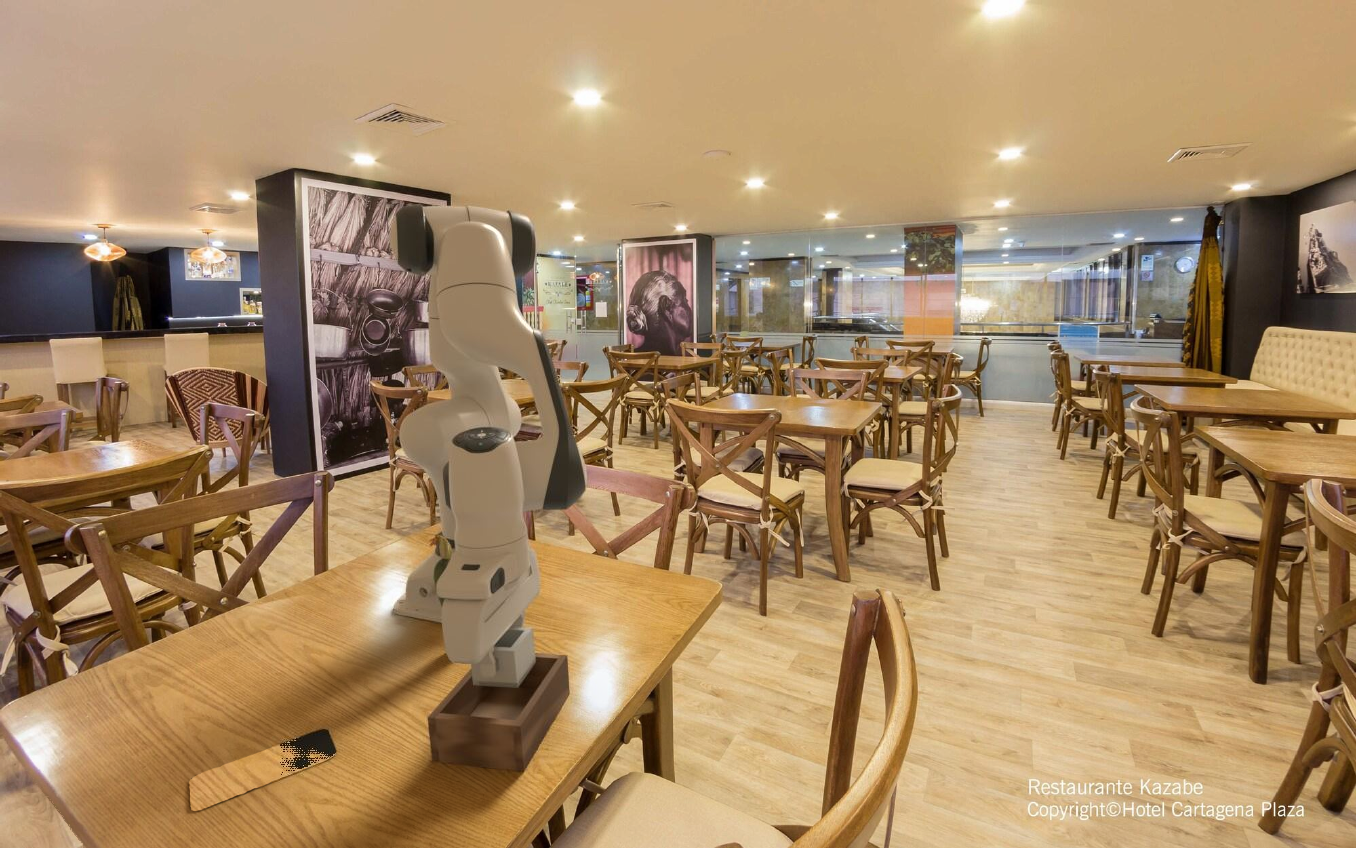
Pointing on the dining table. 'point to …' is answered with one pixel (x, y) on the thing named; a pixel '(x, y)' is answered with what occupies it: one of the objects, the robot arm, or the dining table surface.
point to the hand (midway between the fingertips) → (503, 658)
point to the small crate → (510, 659)
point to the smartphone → (310, 747)
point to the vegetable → (446, 556)
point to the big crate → (499, 718)
